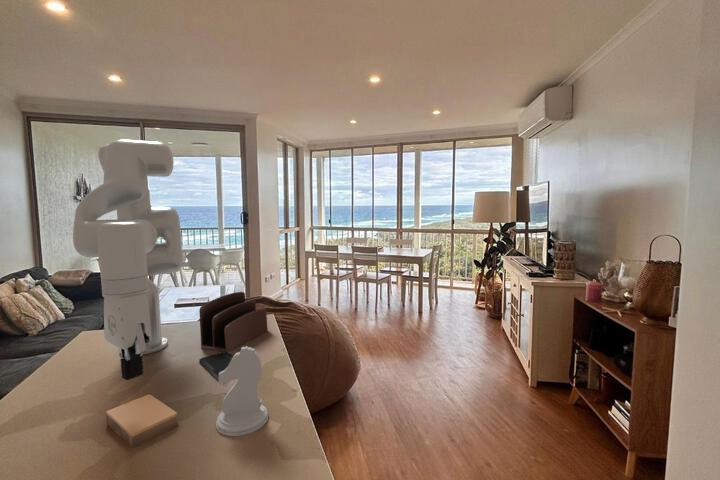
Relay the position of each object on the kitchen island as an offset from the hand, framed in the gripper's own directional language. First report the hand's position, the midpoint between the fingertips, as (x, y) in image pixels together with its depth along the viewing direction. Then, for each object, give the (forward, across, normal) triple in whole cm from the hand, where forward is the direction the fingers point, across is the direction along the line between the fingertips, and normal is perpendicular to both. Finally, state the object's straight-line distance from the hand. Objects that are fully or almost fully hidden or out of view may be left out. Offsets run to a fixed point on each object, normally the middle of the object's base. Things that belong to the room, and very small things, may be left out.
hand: (132, 376), depth 71 cm
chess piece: (+9, +18, +12) cm, 24 cm away
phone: (+10, -7, +24) cm, 27 cm away
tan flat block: (+8, -3, 0) cm, 9 cm away
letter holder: (+10, -21, +38) cm, 45 cm away
